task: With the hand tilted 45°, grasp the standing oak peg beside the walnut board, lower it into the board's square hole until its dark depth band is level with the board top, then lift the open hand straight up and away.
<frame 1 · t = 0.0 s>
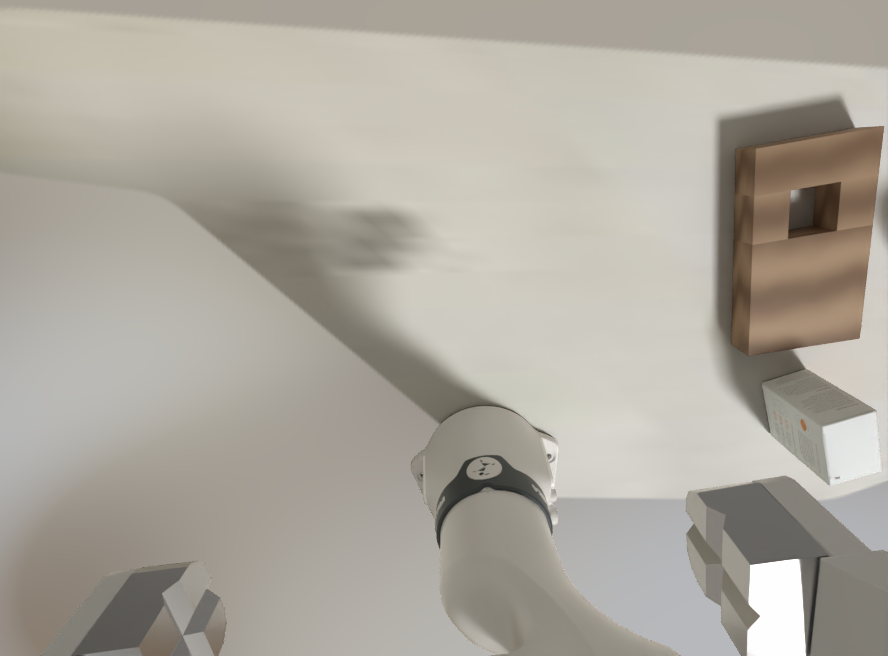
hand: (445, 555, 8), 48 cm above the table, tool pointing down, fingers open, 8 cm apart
walnut board: (788, 243, 55), on the table
small box: (786, 401, 62), on the table
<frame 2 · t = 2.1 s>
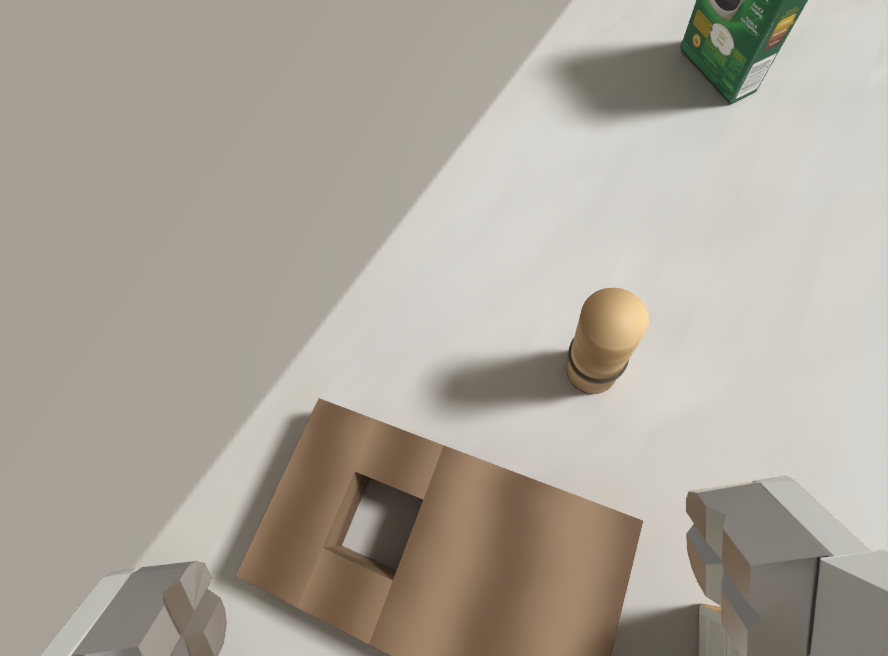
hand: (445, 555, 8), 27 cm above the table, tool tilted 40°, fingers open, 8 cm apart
walnut board: (440, 547, 33), on the table
oak peg: (591, 370, 36), on the table
coffee box: (716, 73, 44), on the table
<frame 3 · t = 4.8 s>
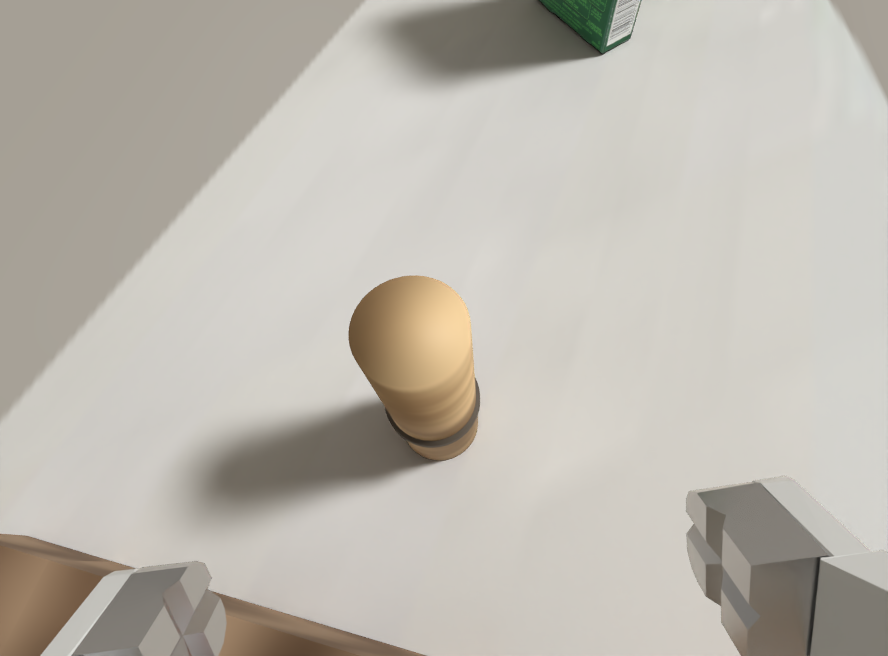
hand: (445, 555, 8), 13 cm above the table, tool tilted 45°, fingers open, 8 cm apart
oak peg: (440, 422, 23), on the table
coffee box: (581, 23, 35), on the table
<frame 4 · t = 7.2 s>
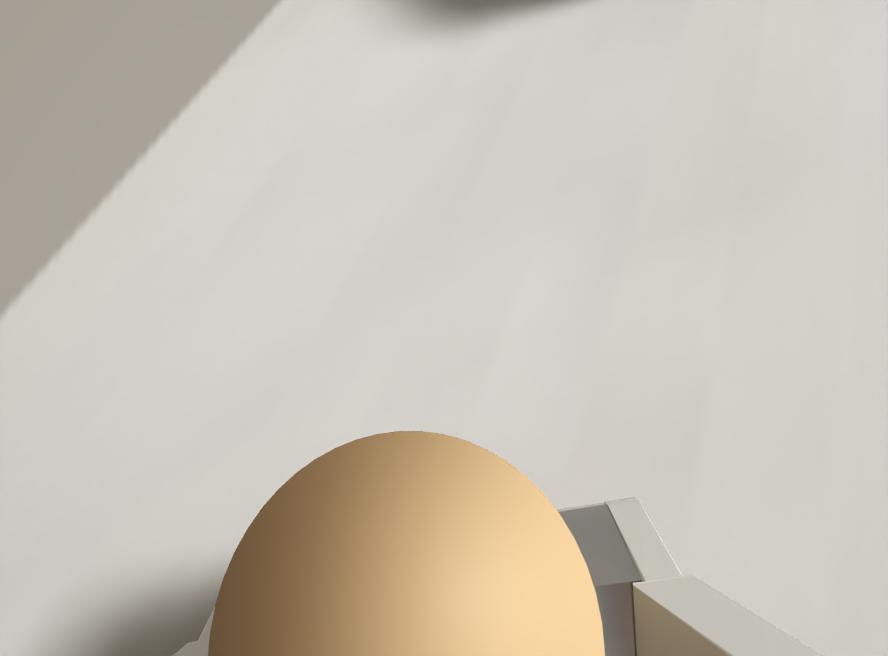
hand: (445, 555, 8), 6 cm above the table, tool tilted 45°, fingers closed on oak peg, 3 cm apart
oak peg: (473, 581, 13), on the table, touching gripper
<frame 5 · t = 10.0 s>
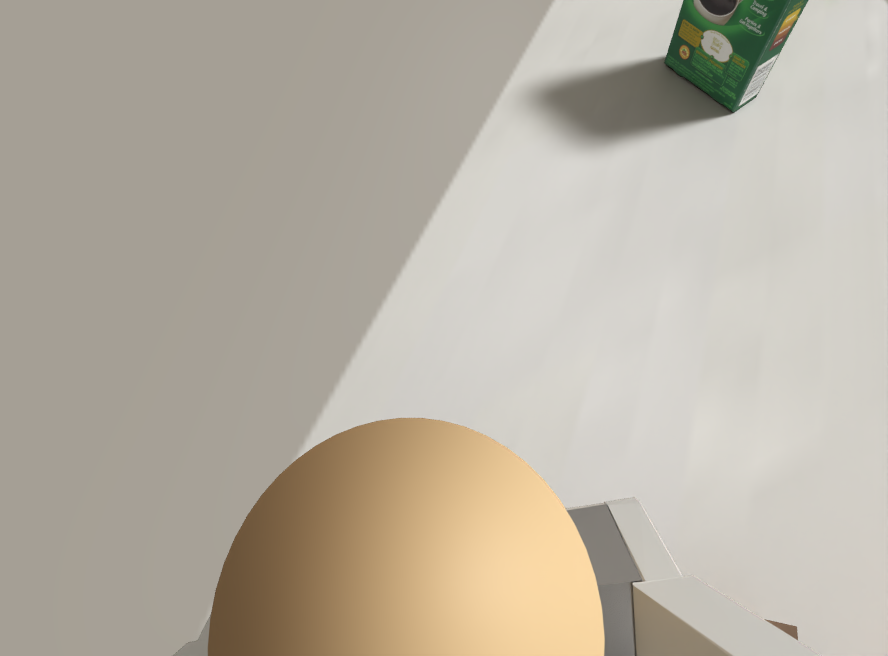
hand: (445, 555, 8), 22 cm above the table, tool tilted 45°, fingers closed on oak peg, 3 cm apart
oak peg: (472, 576, 13), point 16 cm above the table, touching gripper
coffee box: (708, 84, 41), on the table
when the fingers open (7 cm above the table, at t = 13.0 s): oak peg drops 1 cm, resting in walnut board.
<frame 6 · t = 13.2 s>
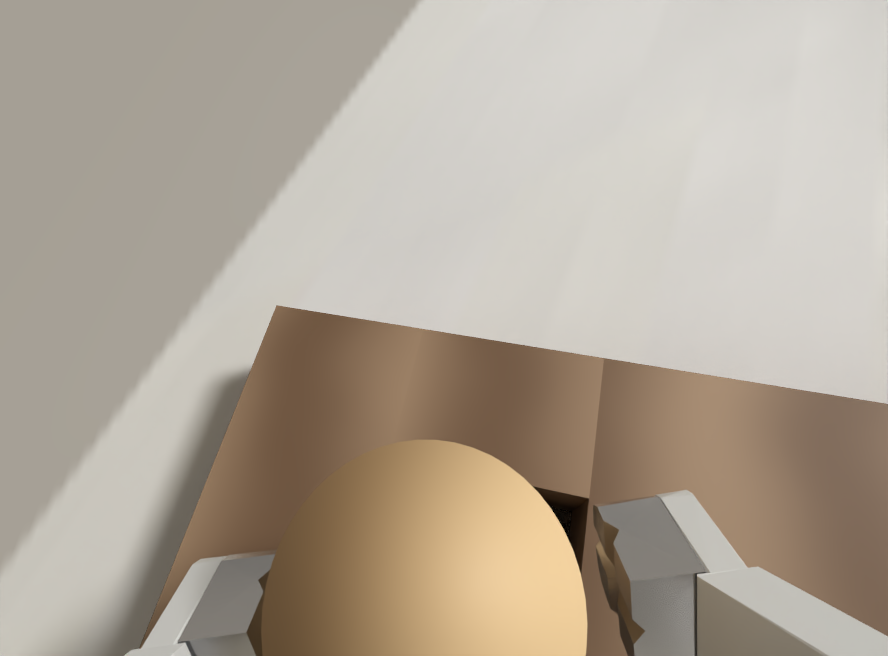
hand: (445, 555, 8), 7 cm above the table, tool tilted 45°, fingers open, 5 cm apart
walnut board: (619, 618, 13), on the table
oak peg: (475, 575, 14), resting in walnut board
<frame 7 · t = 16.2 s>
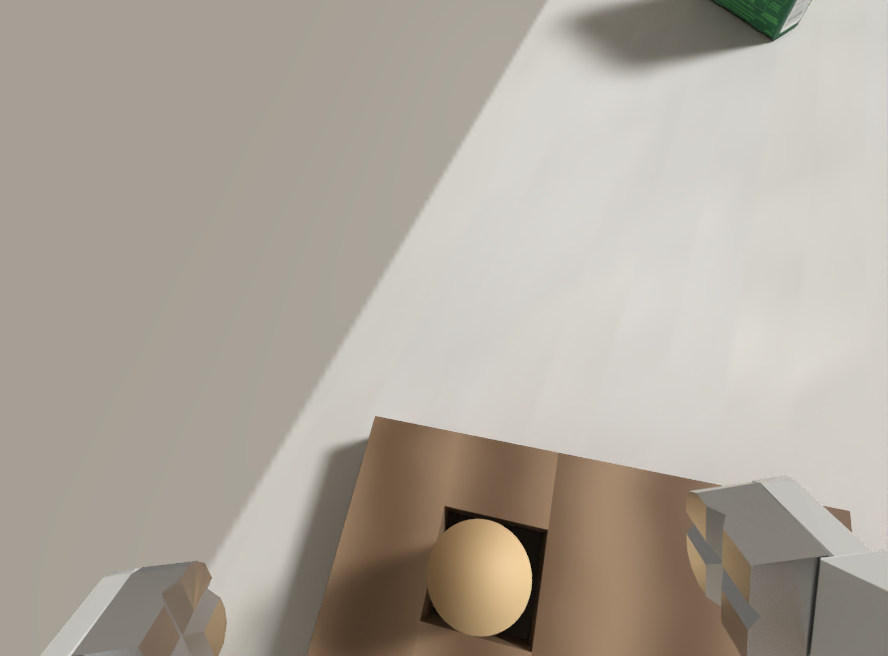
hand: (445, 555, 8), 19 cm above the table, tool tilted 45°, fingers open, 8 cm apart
walnut board: (567, 592, 25), on the table
oak peg: (488, 569, 26), resting in walnut board
coffee box: (748, 13, 41), on the table
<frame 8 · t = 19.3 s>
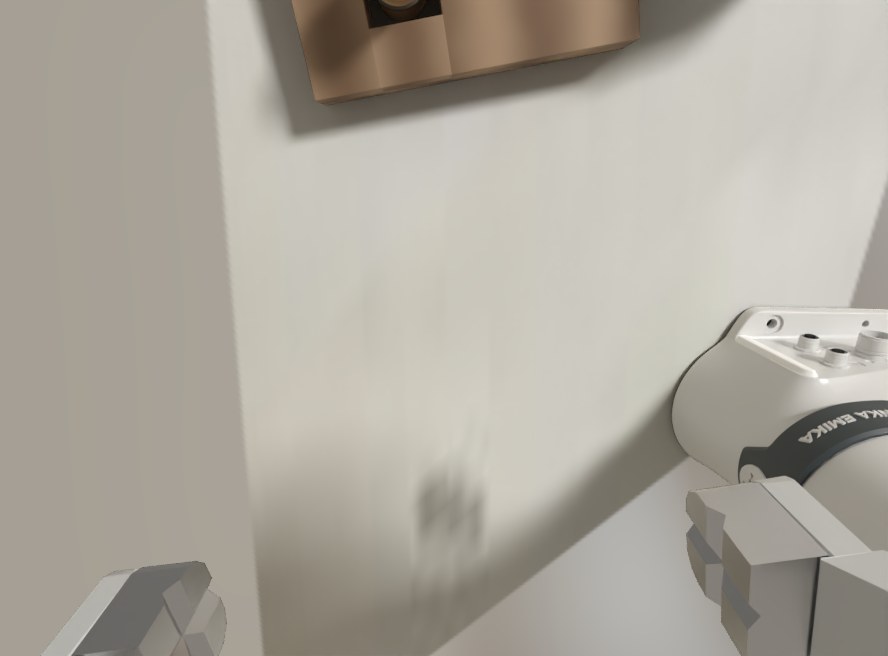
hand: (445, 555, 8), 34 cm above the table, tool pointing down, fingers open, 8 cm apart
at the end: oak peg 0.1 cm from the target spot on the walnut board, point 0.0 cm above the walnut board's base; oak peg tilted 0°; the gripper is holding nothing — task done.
